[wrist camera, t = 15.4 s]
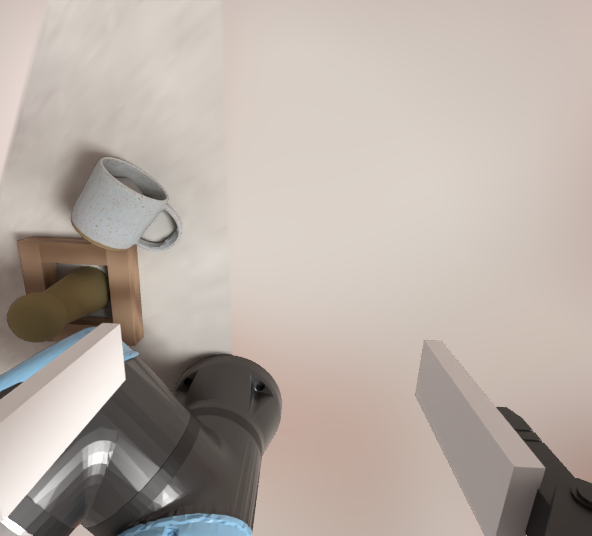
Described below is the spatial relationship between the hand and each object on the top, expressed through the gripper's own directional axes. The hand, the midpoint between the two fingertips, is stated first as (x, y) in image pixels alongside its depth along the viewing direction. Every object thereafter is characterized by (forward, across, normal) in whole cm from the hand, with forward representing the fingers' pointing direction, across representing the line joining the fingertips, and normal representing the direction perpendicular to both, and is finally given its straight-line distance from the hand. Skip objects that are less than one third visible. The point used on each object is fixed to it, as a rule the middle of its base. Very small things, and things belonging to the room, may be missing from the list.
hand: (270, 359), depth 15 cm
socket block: (+29, +26, +8) cm, 40 cm away
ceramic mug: (+29, +18, -3) cm, 34 cm away
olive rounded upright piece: (+29, +26, +8) cm, 40 cm away
